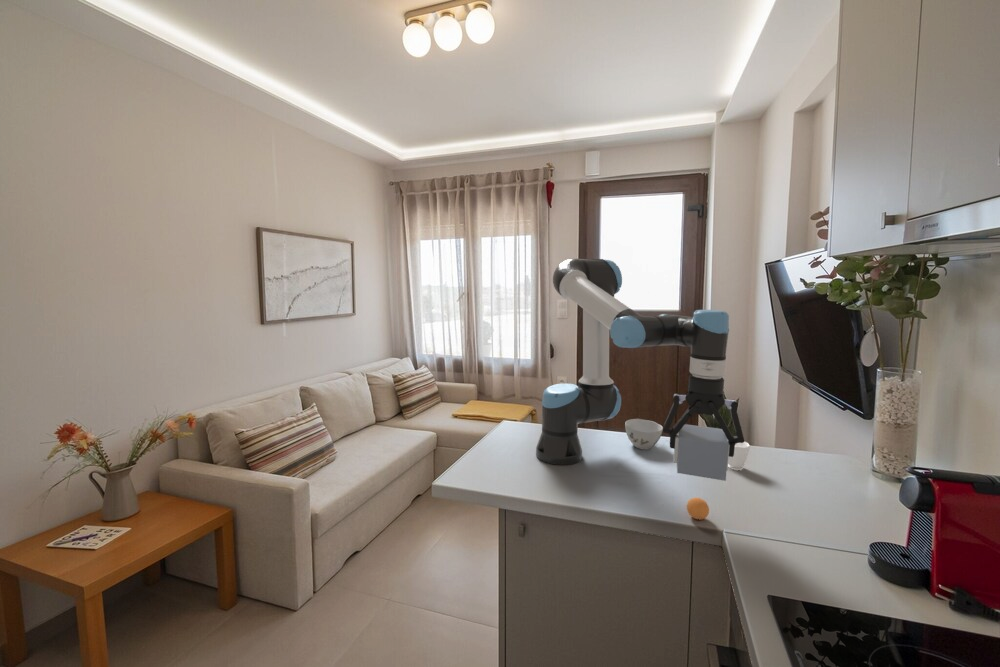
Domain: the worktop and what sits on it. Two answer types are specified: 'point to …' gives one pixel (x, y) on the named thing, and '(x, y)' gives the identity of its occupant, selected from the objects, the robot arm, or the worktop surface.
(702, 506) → the ball
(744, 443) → the cup
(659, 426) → the teacup
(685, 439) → the matte grey cuboid
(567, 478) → the worktop surface
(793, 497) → the worktop surface
